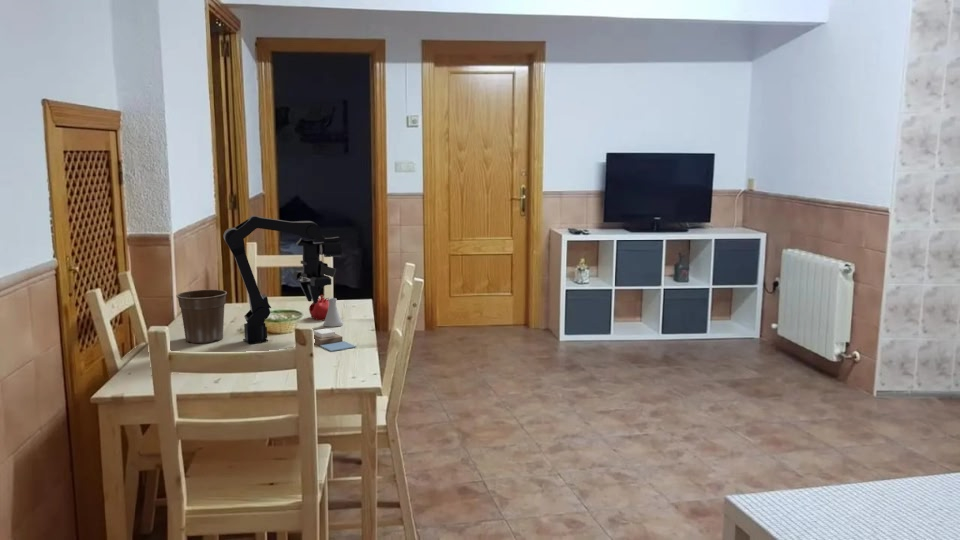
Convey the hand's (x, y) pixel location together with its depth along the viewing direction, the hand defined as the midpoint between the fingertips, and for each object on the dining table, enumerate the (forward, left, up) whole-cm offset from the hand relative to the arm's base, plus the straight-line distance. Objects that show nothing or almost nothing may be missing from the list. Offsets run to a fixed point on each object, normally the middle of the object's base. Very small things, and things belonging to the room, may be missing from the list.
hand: (312, 302), depth 264 cm
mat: (0, -18, -12) cm, 22 cm away
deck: (0, -9, -12) cm, 15 cm away
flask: (+13, +11, -12) cm, 21 cm away
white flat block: (0, -9, -10) cm, 13 cm away
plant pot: (-32, +18, -12) cm, 39 cm away
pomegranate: (+15, +24, -12) cm, 31 cm away
